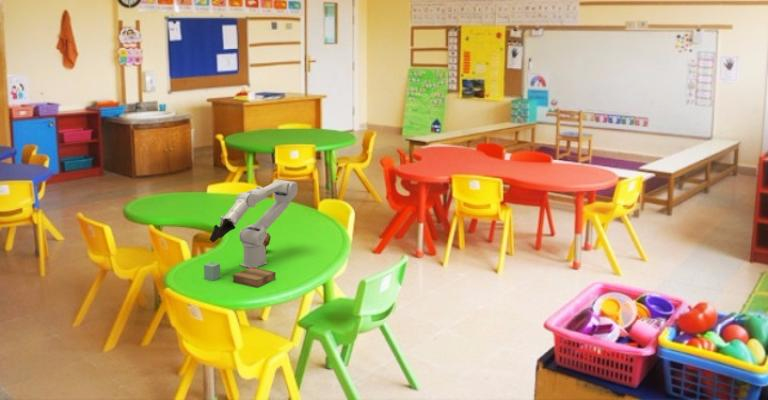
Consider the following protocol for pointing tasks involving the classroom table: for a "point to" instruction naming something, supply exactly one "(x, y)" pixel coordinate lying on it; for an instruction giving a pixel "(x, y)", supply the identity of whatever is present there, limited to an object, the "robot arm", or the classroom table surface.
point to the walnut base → (254, 277)
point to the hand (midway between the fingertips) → (215, 238)
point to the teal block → (212, 271)
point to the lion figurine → (267, 240)
